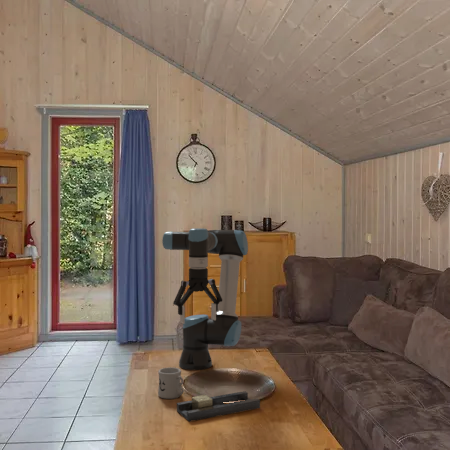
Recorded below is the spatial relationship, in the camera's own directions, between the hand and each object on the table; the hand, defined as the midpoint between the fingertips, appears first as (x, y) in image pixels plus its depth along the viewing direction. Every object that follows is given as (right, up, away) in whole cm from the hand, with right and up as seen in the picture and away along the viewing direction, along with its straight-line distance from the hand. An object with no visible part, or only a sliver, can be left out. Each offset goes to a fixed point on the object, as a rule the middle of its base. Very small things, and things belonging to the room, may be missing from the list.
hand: (198, 321), depth 223 cm
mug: (-10, -29, -3) cm, 31 cm away
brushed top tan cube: (+2, -30, -20) cm, 36 cm away
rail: (+8, -29, -16) cm, 35 cm away
